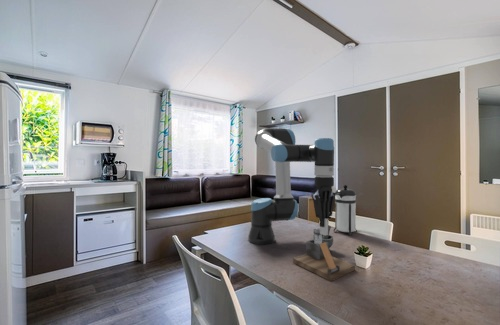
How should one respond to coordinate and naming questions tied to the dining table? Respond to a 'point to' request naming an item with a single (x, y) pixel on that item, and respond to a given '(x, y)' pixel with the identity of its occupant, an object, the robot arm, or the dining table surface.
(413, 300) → the dining table surface
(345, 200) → the coffee press
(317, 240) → the pin
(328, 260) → the strip
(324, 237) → the mortar and pestle
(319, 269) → the hitch board
